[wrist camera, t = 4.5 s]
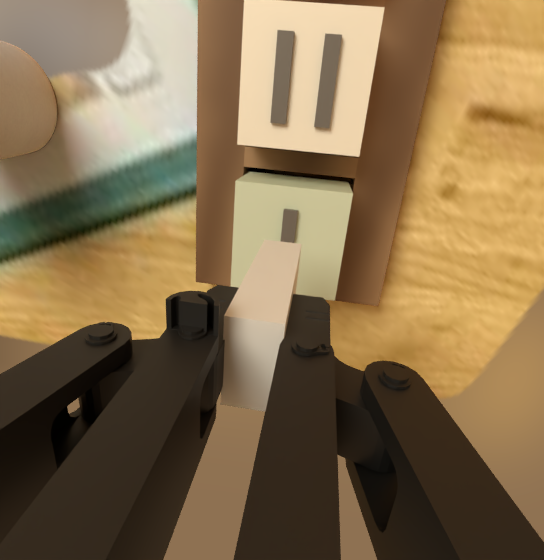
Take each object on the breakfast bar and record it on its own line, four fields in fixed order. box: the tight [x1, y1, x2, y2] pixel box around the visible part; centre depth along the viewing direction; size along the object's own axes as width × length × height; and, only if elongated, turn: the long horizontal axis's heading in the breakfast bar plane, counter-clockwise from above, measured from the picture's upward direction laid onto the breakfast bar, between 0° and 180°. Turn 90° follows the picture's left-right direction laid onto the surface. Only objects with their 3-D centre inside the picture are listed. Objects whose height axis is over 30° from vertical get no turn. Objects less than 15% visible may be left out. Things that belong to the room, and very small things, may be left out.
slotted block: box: [230, 172, 353, 301], centre depth 21 cm, size 6×6×4 cm
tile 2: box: [237, 0, 385, 157], centre depth 18 cm, size 6×6×4 cm
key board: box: [196, 0, 446, 306], centre depth 21 cm, size 12×24×2 cm, turn 175°
